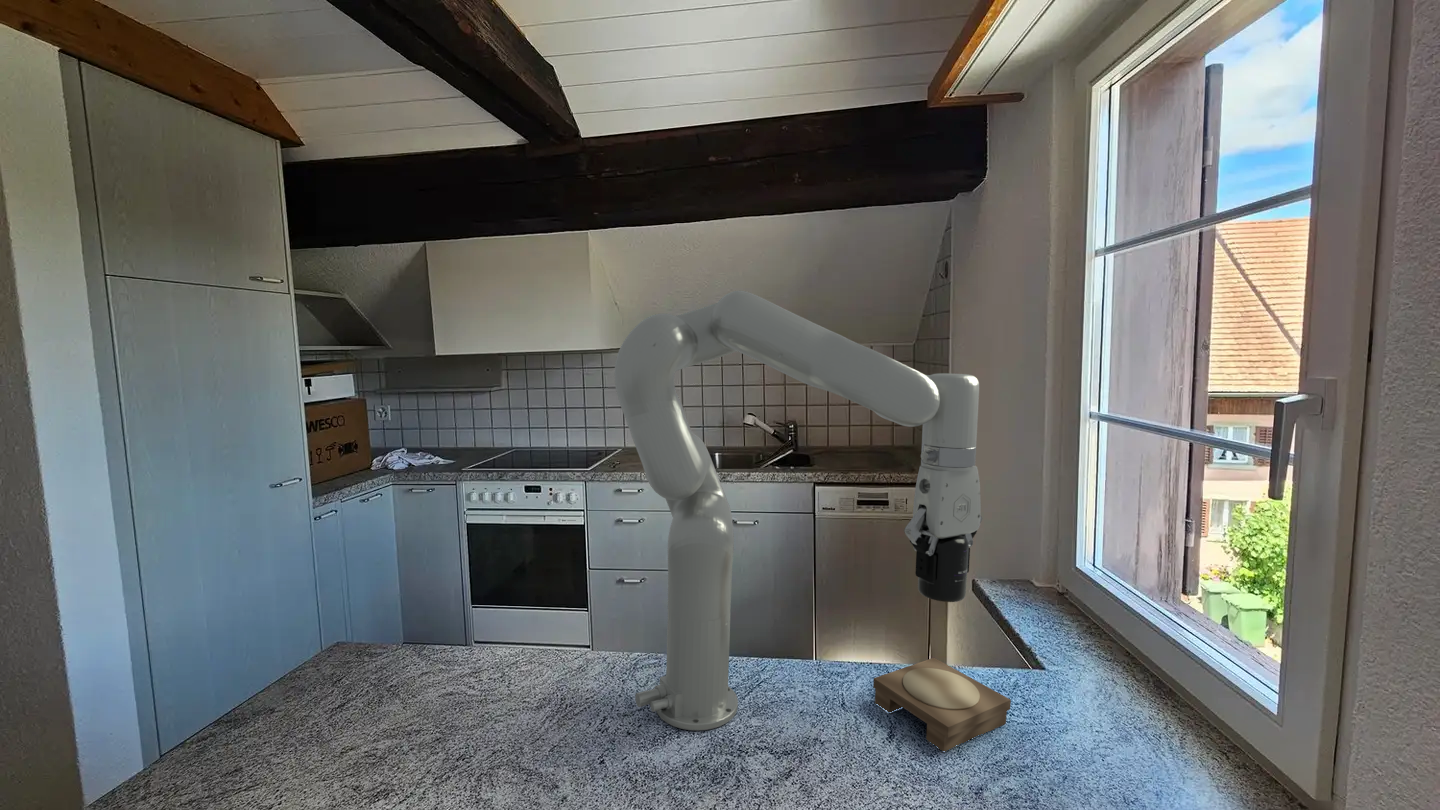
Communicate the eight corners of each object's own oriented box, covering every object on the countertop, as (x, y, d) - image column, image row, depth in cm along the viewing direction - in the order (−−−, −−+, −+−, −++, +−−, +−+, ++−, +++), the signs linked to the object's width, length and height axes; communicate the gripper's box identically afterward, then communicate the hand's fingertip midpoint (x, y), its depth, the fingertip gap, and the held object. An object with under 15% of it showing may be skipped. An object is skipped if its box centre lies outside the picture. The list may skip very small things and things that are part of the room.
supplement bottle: (970, 605, 85) (974, 524, 84) (920, 601, 87) (924, 520, 86) (961, 587, 92) (964, 511, 91) (915, 583, 93) (918, 508, 92)
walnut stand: (946, 755, 81) (948, 725, 81) (872, 702, 93) (873, 676, 93) (1009, 725, 88) (1011, 697, 88) (932, 680, 100) (934, 655, 100)
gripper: (928, 465, 80) (922, 594, 81) (1007, 456, 89) (1000, 572, 90) (886, 457, 86) (882, 576, 88) (964, 449, 95) (958, 558, 97)
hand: (942, 573), depth 89 cm, fingers closed on supplement bottle, 6 cm apart
